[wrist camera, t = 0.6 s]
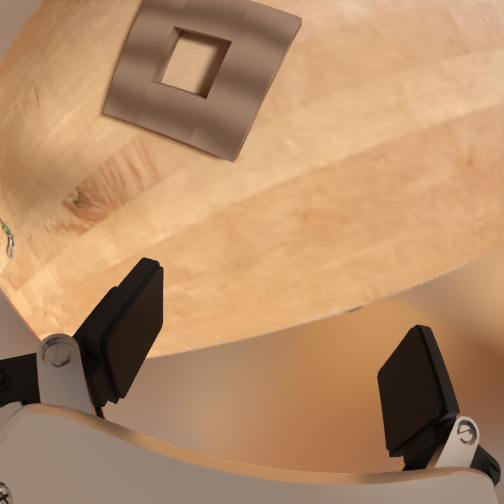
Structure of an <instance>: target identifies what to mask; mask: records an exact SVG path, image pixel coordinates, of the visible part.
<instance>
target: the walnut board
mask: <svg viewBox="0 0 504 504" xmlns="http://www.w3.org/2000/svg"><path fill="white" fill-rule="evenodd" d="M301 23H302V18H300V17H297V16H295V15H292V14H289V13H287V12H284V11H281V10H278V9H275V8H272V7H269V6H266V5H263V4H260V3H256V2H253V1H249V0H145V2H144V4H143V6H142V8H141V10H140V12H139V14H138V17H137V19H136V21H135V23H134V26H133V28H132V30H131V33H130V35H129V37H128V40H127V42H126V45H125V47H124V50H123V52H122V55H121V58H120V61H119V63H118V66H117V69H116V72H115V75H114V78H113V81H112V84H111V87H110V91H109V94H108V97H107V101H106V104H105V108H104V112H103V113H104V114H107V115H111V116H114V117H117V118H120V119H122V120H125V121H128V122H131V123H134V124H137V125H140V126H143V127H145V128H148V129H151V130H154V131H156V132H159V133H162V134H164V135H167V136H169V137H172V138H175V139H177V140H180V141H182V142H185V143H187V144H190V145H192V146H195V147H197V148H200V149H202V150H205V151H207V152H209V153H212V154H214V155H217V156H219V157H221V158H224V159H226V160H228V161H231V162H234V161H235V160H236V159H237V158H238V156H239V153H240V151H241V149H242V147H243V144H244V142H245V140H246V138H247V135H248V133H249V131H250V129H251V127H252V124H253V122H254V120H255V118H256V116H257V113H258V111H259V109H260V107H261V105H262V103H263V101H264V99H265V96H266V94H267V92H268V90H269V88H270V86H271V84H272V82H273V80H274V78H275V76H276V74H277V72H278V70H279V68H280V66H281V64H282V62H283V60H284V58H285V56H286V54H287V52H288V50H289V48H290V46H291V44H292V42H293V40H294V38H295V36H296V34H297V32H298V30H299V28H300V27H301ZM182 31H185V32H190V33H194V34H198V35H202V36H205V37H209V38H213V39H216V40H220V41H223V42H226V43H230V44H231V45H230V47H229V49H228V51H227V54H226V56H225V58H224V60H223V62H222V64H221V66H220V69H219V71H218V73H217V75H216V78H215V80H214V82H213V85H212V87H211V89H210V92H209V94H208V96H207V98H206V97H204V96H201V95H198V94H195V93H192V92H189V91H186V90H183V89H180V88H177V87H174V86H170V85H167V84H164V83H161V81H162V78H163V76H164V73H165V71H166V68H167V66H168V63H169V61H170V58H171V56H172V54H173V51H174V49H175V47H176V44H177V42H178V40H179V38H180V35H181V33H182Z"/></svg>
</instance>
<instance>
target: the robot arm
mask: <svg viewBox="0 0 504 504" xmlns="http://www.w3.org/2000/svg"><path fill="white" fill-rule="evenodd" d="M163 272H164V270H163V267H161V266H160V264H159V262H158V261H155V260H152V259H148V258H145V257H144V258H142V259H141V260H140V261H139V262H138V263H137V265H136V266H135V267H134V268H133V269H132V270H131V271H130V273H129V274H128V275H127V276H126V277H125V278H124V280H123V281H122V282H121V283H120V284H119V286H118V287H116V286H115V287H113V288H111V289H110V290H109V292H108V293H107V294H106V295H105V296H104V298H103V299H102V300H101V301H100V302H99V304H98V305H97V306H96V307H95V309H94V310H93V311H92V312H91V313H90V315H89V316H88V317H87V318H86V320H85V321H84V322H83V324H82V325H81V326H80V327H79V329H78V330H77V331H76V333H75V334H74V335H73V336H72V337H71V336H69V335H66V334H62V333H61V334H53V335H50V336H48V337H46V338H45V339H43V341H42V342H41V343H40V344H39V346H38V348H37V353H32V354H28V355H23V356H18V357H13V358H8V359H3V360H0V504H504V482H503V481H502V479H501V480H500V475H501V471H500V466H499V464H498V462H497V461H496V460H495V459H494V458H493V457H492V456H491V455H489V454H488V453H487V452H486V451H485V450H484V449H483V448H482V447H481V446H480V445H479V444H478V442H479V430H478V427H477V425H476V423H475V422H474V421H473V420H472V419H470V418H469V417H465V416H463V417H460V418H458V419H457V420H456V415H458V414H459V413H460V410H459V407H458V403H457V400H456V397H455V393H454V390H453V387H452V384H451V381H450V378H449V375H448V372H447V369H446V367H445V364H444V361H443V358H442V355H441V353H440V350H439V348H438V345H437V342H436V340H435V337H434V335H433V332H432V330H431V328H430V327H427V326H422V325H416V326H414V327H413V328H411V329H410V330H409V331H408V333H407V334H406V336H405V337H404V338H403V340H402V341H401V343H400V344H399V345H398V347H397V348H396V350H395V351H394V352H393V353H392V355H391V356H390V357H389V359H388V360H387V361H386V363H385V364H384V365H383V366H382V368H381V369H380V370H379V372H378V376H377V379H378V386H379V392H380V399H381V405H382V414H383V422H384V430H385V440H386V448H387V450H389V455H390V457H401V456H402V455H403V457H404V460H403V461H402V463H401V464H400V466H399V468H398V469H397V470H396V472H385V473H357V474H356V473H322V472H307V471H296V470H288V469H279V468H272V467H265V466H259V465H254V464H248V463H243V462H238V461H232V460H228V459H224V458H219V457H215V456H211V455H207V454H203V453H200V452H196V451H192V450H189V449H186V448H182V447H179V446H176V445H173V444H170V443H167V442H164V441H160V440H158V439H154V438H152V437H149V436H146V435H143V434H141V433H138V432H136V431H133V430H130V429H128V428H125V427H123V426H120V425H118V424H115V423H112V422H110V421H108V420H106V418H105V414H104V411H103V408H102V407H104V406H105V404H106V403H107V401H110V402H113V403H115V404H117V402H118V400H119V398H122V399H123V398H124V397H125V396H126V394H127V392H128V391H129V388H130V387H131V385H132V383H133V381H134V379H135V377H136V375H137V373H138V371H139V369H140V367H141V365H142V364H143V362H144V360H145V358H146V356H147V354H148V352H149V350H150V348H151V347H152V345H153V343H154V341H155V339H156V337H157V335H158V334H159V332H160V330H161V328H162V324H163Z"/></svg>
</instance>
